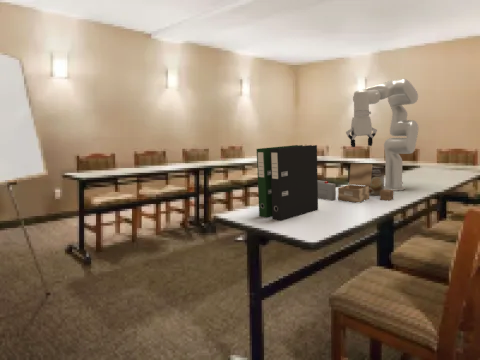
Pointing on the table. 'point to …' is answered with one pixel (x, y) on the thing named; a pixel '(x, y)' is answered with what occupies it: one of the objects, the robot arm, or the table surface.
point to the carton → (353, 193)
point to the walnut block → (386, 194)
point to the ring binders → (287, 181)
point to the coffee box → (376, 181)
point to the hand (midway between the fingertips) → (361, 146)
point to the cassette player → (326, 190)
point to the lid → (360, 174)
